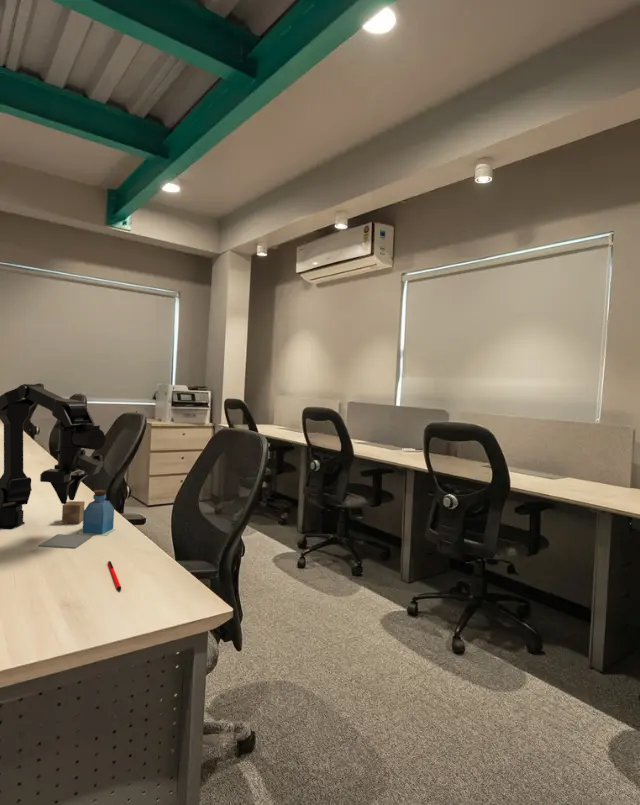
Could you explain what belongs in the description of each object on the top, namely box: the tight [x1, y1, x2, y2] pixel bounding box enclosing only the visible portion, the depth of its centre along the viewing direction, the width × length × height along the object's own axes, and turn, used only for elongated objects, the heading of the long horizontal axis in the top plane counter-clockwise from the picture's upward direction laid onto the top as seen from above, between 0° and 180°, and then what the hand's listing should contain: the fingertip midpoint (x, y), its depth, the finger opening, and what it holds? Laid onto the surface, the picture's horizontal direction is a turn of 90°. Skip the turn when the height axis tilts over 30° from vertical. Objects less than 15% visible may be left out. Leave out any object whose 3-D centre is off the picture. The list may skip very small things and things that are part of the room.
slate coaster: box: [37, 533, 93, 549], centre depth 136 cm, size 10×10×1 cm
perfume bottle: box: [82, 489, 115, 534], centre depth 147 cm, size 6×6×12 cm
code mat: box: [76, 528, 115, 537], centre depth 147 cm, size 9×9×1 cm
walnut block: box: [61, 500, 86, 525], centre depth 154 cm, size 5×5×6 cm
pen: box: [107, 560, 122, 592], centre depth 115 cm, size 1×19×1 cm, turn 30°
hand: (67, 501), depth 136 cm, fingers open, 4 cm apart
